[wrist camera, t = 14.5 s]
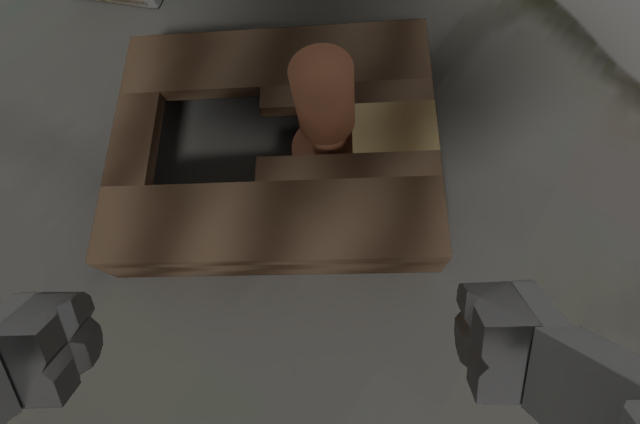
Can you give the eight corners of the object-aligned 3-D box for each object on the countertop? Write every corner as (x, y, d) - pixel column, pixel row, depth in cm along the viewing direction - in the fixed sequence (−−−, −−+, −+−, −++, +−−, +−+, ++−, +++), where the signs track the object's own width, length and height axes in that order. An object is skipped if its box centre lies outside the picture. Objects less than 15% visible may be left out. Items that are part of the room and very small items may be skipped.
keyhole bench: (117, 277, 27) (84, 264, 24) (153, 70, 33) (130, 36, 30) (440, 272, 26) (452, 256, 22) (418, 55, 31) (425, 18, 28)
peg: (293, 192, 28) (266, 116, 20) (295, 127, 30) (271, 31, 22) (370, 190, 28) (375, 111, 20) (367, 123, 30) (370, 25, 21)
